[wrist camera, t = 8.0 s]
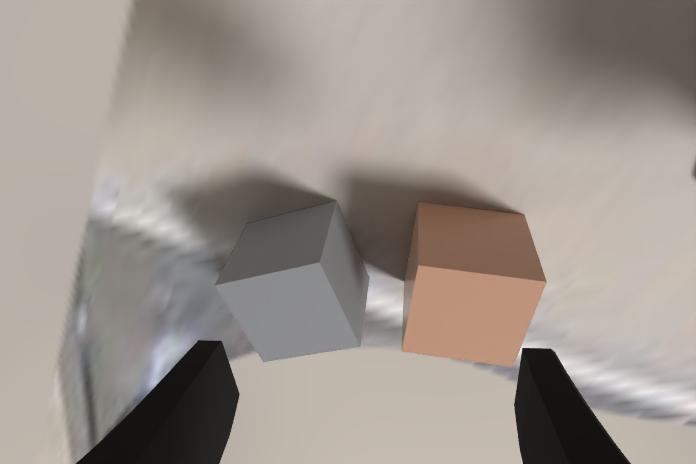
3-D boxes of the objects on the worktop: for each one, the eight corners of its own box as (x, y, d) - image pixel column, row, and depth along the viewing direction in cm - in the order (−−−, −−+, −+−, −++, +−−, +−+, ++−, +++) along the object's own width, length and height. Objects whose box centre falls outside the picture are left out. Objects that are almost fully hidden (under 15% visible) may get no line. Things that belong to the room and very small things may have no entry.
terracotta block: (524, 213, 21) (546, 281, 17) (498, 292, 24) (513, 366, 20) (418, 200, 21) (418, 265, 18) (404, 280, 24) (401, 351, 20)
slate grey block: (337, 199, 22) (319, 262, 18) (369, 276, 24) (360, 346, 20) (247, 222, 23) (214, 285, 19) (286, 293, 25) (263, 362, 22)
